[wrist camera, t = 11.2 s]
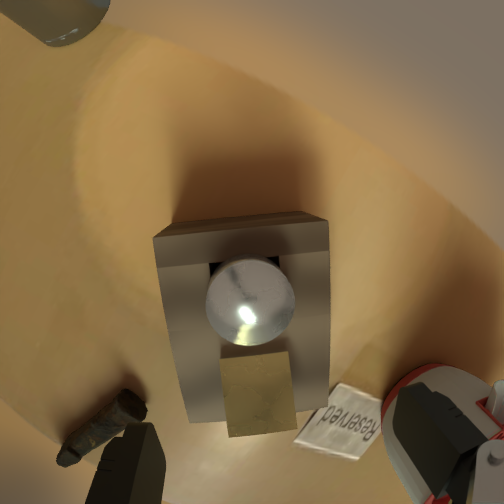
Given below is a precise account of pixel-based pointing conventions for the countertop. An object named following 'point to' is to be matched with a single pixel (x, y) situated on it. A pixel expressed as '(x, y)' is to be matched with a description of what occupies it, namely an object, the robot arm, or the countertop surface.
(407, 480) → the citrus juicer
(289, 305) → the reflector light bulb
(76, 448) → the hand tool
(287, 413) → the plate
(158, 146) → the countertop surface
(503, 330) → the countertop surface
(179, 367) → the block
